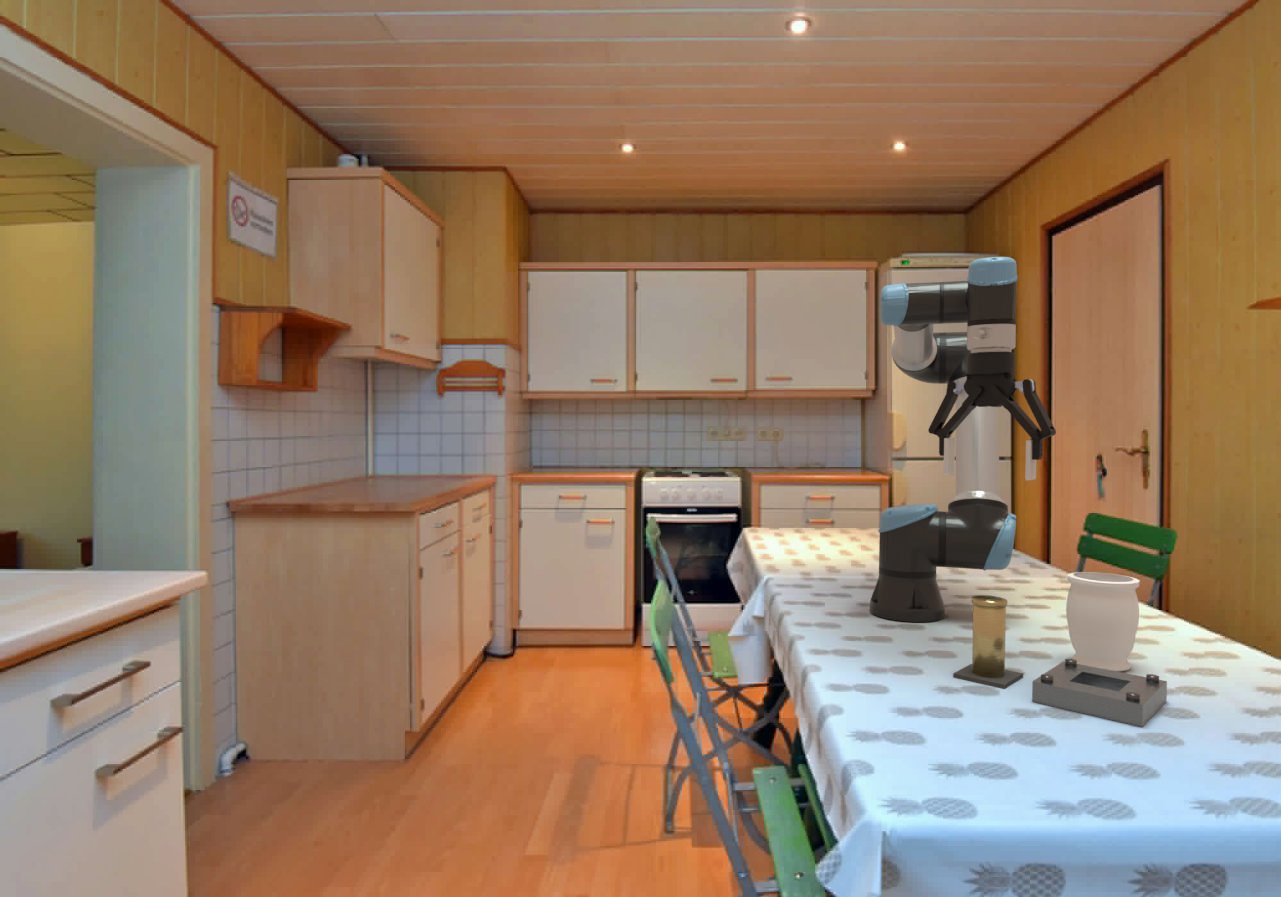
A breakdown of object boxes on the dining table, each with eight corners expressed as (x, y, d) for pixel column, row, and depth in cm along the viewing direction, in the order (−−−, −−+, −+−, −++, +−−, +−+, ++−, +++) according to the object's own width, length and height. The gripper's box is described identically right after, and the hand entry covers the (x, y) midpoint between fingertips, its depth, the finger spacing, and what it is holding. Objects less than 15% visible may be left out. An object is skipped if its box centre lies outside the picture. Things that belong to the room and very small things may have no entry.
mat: (953, 677, 129) (953, 673, 129) (973, 666, 134) (973, 662, 134) (1004, 688, 123) (1004, 684, 123) (1023, 677, 129) (1023, 673, 129)
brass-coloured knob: (965, 673, 129) (966, 598, 128) (978, 666, 132) (979, 594, 132) (998, 680, 125) (1000, 604, 125) (1011, 673, 129) (1012, 599, 128)
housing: (1032, 701, 117) (1032, 675, 117) (1063, 679, 127) (1063, 656, 127) (1142, 727, 108) (1142, 699, 107) (1166, 701, 118) (1167, 675, 117)
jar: (1129, 659, 138) (1131, 573, 138) (1145, 677, 129) (1147, 584, 128) (1060, 653, 142) (1062, 569, 141) (1071, 670, 132) (1072, 580, 132)
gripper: (910, 354, 141) (908, 474, 142) (1063, 346, 124) (1060, 483, 125) (929, 355, 146) (927, 471, 148) (1078, 348, 129) (1075, 480, 130)
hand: (988, 477), depth 136 cm, fingers open, 13 cm apart
